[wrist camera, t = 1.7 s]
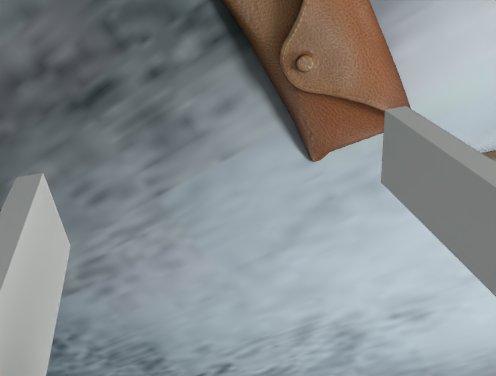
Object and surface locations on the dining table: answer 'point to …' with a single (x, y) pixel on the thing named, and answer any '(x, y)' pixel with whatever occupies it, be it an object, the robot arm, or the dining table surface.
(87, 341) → the dining table surface
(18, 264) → the robot arm
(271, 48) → the sunglasses case
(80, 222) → the dining table surface
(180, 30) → the dining table surface
